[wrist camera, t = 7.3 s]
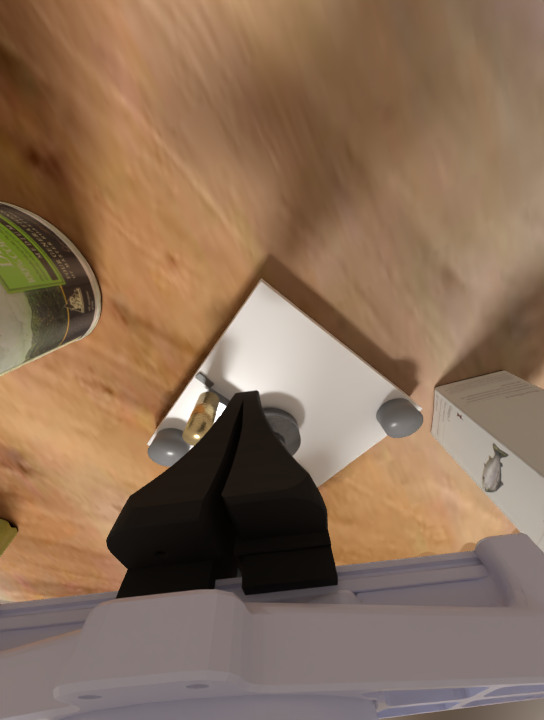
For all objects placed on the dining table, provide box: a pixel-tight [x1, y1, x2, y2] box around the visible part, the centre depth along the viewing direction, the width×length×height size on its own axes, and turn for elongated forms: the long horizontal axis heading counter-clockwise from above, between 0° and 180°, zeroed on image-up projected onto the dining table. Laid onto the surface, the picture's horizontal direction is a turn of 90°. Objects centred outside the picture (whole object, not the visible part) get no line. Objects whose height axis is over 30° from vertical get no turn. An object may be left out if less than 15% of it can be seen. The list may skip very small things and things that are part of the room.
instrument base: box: [147, 278, 423, 488], centre depth 22 cm, size 20×20×4 cm
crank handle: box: [182, 388, 301, 456], centre depth 18 cm, size 11×6×5 cm, turn 47°
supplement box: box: [431, 371, 544, 552], centre depth 18 cm, size 7×7×13 cm
